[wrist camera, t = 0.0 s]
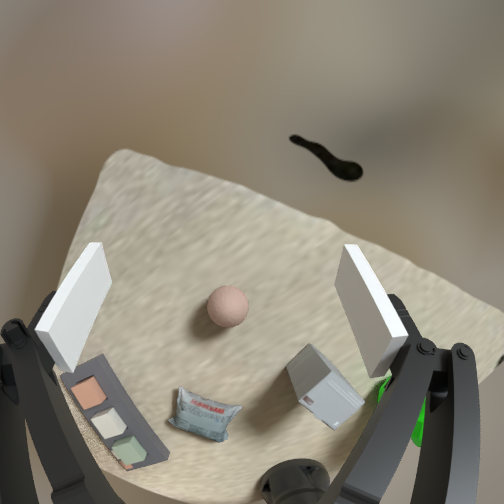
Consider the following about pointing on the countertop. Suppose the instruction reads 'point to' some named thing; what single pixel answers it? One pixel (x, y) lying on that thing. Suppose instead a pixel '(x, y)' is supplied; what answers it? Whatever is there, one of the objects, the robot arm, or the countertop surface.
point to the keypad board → (122, 406)
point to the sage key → (129, 450)
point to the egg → (227, 306)
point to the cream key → (109, 422)
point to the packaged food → (203, 416)
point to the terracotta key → (89, 392)
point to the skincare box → (322, 388)
